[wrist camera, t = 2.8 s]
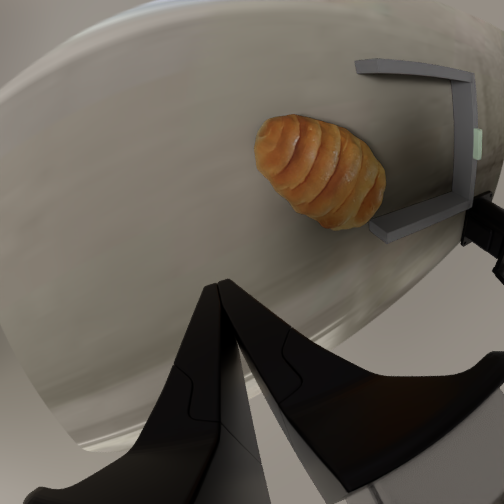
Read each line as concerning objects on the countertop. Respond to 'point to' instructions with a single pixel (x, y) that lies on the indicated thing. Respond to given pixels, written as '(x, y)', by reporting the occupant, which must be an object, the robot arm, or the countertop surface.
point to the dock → (464, 150)
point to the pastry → (320, 170)
